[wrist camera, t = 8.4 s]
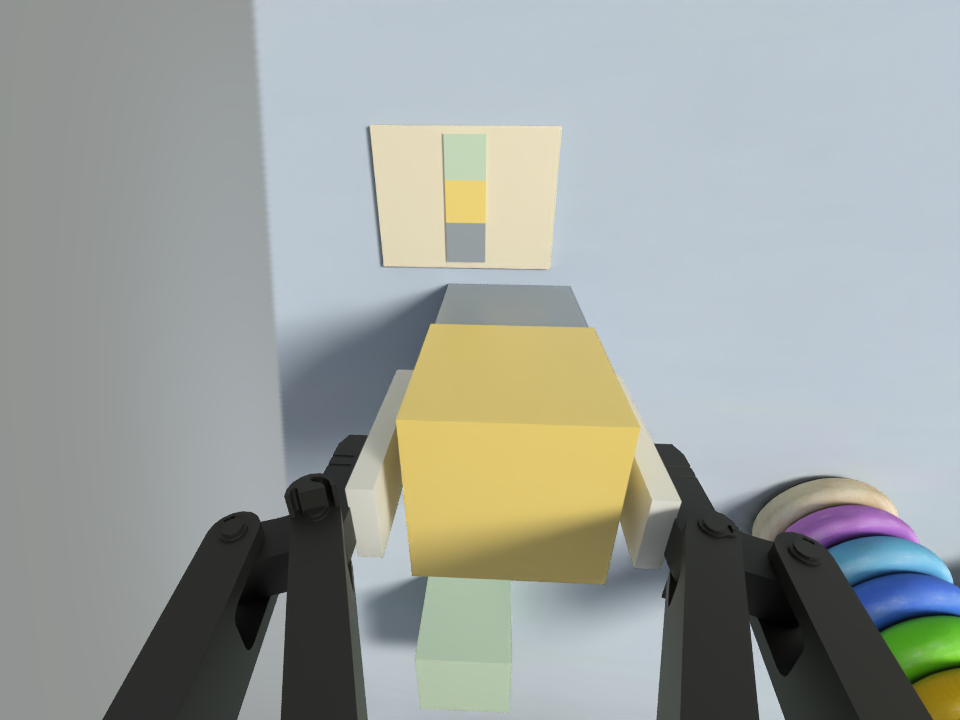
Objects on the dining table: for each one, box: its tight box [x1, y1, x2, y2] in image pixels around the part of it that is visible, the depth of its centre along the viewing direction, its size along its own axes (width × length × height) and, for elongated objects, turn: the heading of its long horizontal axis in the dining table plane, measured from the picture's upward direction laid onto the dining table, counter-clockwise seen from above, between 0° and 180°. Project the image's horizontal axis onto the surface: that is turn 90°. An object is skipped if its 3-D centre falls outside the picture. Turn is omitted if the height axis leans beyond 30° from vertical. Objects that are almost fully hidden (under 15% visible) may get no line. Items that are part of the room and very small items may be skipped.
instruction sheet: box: [370, 125, 562, 269], centre depth 19 cm, size 6×8×1 cm
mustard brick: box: [396, 324, 640, 584], centre depth 15 cm, size 6×6×6 cm
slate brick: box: [435, 284, 588, 327], centre depth 20 cm, size 6×6×6 cm
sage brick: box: [415, 577, 512, 713], centre depth 31 cm, size 6×6×6 cm
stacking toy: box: [752, 478, 960, 720], centre depth 19 cm, size 8×8×19 cm
